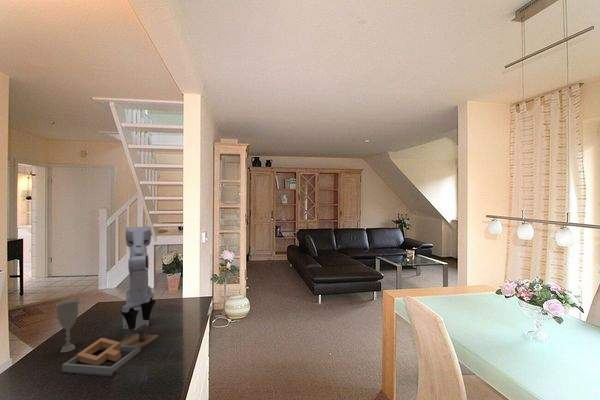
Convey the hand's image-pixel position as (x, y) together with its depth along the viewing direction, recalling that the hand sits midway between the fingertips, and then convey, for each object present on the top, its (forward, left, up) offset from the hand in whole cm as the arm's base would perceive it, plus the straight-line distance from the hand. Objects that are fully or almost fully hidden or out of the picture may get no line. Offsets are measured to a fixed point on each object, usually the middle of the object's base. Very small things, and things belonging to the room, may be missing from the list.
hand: (139, 324), depth 108 cm
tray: (-6, -10, -9) cm, 15 cm away
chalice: (-25, -5, -10) cm, 27 cm away
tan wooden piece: (-4, +4, -9) cm, 11 cm away
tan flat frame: (-7, -9, -8) cm, 13 cm away
